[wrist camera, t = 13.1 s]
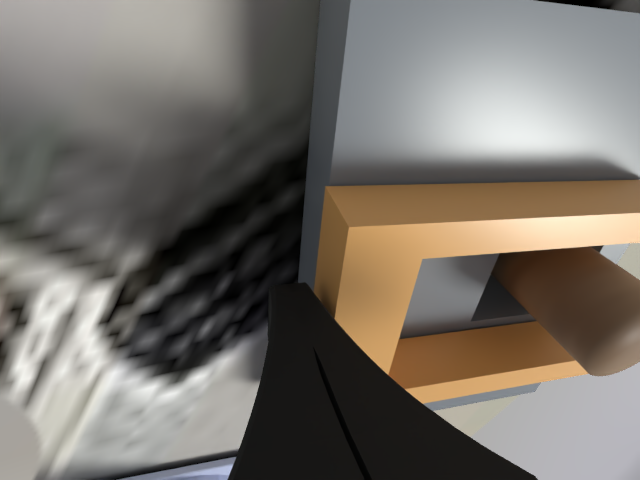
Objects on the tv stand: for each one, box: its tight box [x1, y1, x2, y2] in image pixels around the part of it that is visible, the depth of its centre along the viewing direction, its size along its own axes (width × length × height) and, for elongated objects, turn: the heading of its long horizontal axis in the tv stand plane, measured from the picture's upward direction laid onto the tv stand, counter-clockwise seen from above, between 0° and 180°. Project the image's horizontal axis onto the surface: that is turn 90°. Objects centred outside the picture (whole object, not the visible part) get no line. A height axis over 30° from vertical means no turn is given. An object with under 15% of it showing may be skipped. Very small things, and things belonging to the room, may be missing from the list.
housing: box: [298, 0, 640, 411], centre depth 14 cm, size 12×16×2 cm
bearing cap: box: [314, 180, 640, 404], centre depth 12 cm, size 11×7×2 cm, turn 84°
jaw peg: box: [491, 246, 640, 376], centre depth 14 cm, size 3×3×6 cm
